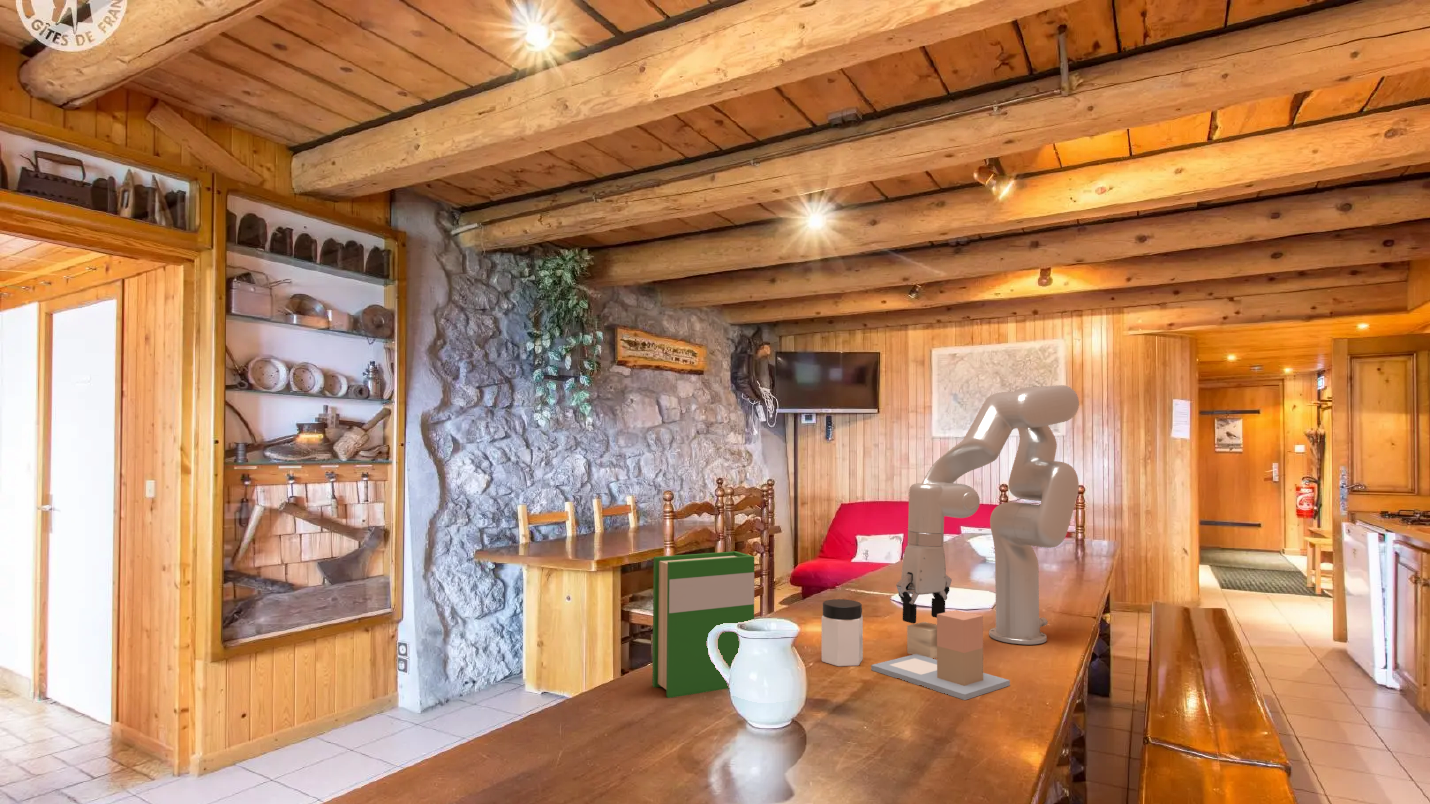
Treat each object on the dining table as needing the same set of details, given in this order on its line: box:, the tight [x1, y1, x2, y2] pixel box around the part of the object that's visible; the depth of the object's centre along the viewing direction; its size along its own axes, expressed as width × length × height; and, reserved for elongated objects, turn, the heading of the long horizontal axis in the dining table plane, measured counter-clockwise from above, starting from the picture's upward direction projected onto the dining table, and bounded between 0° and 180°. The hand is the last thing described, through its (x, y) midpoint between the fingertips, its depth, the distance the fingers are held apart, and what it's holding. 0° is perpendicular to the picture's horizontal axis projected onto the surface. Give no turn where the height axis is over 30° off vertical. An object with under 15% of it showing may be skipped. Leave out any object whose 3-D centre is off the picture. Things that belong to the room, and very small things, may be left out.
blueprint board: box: [870, 646, 1011, 701], centre depth 151 cm, size 14×22×7 cm, turn 37°
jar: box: [821, 598, 864, 667], centre depth 162 cm, size 9×8×12 cm
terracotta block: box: [936, 609, 984, 653], centre depth 147 cm, size 6×6×6 cm
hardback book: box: [651, 551, 755, 699], centre depth 146 cm, size 18×7×24 cm, turn 117°
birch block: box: [906, 621, 937, 659], centre depth 168 cm, size 6×6×6 cm
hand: (923, 619), depth 167 cm, fingers open, 9 cm apart
